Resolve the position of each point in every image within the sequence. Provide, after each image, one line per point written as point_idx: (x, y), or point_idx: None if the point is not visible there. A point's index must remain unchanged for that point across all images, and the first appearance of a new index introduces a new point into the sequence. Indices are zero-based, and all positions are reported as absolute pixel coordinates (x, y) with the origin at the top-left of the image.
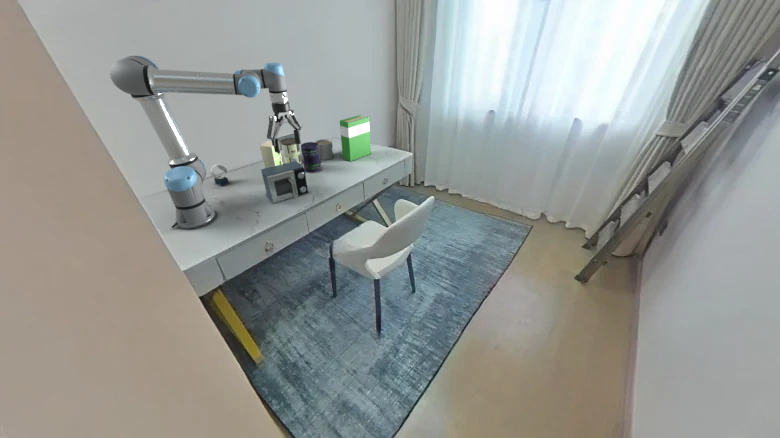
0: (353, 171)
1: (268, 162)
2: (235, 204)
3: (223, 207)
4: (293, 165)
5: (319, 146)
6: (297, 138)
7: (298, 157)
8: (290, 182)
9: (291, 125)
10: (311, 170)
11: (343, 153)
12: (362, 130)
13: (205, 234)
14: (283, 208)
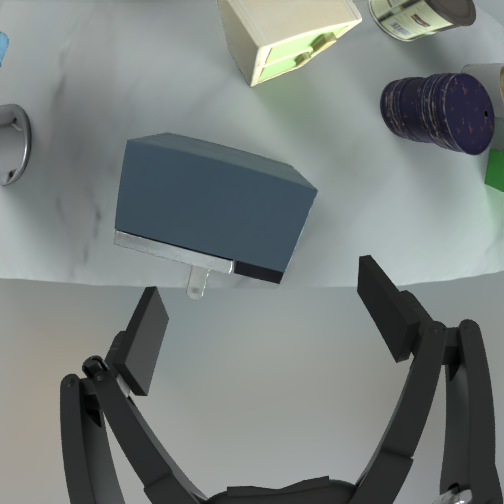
0: (443, 235)
1: (235, 44)
2: (75, 126)
3: (51, 122)
4: (268, 226)
5: (494, 90)
6: (373, 305)
7: (418, 35)
8: (188, 284)
9: (406, 385)
10: (391, 124)
11: (501, 157)
12: None
13: (9, 216)
14: None
